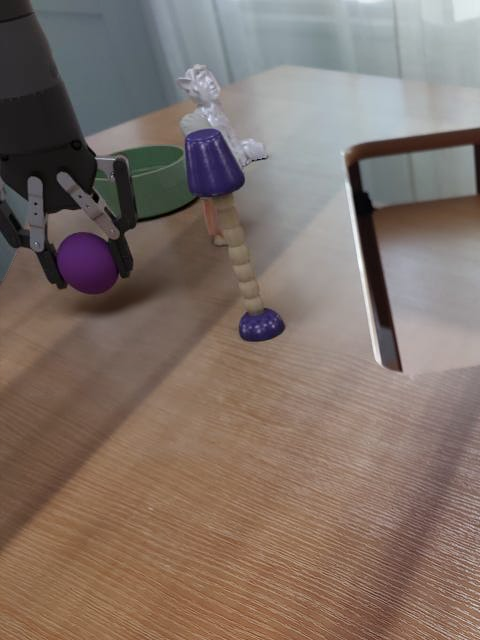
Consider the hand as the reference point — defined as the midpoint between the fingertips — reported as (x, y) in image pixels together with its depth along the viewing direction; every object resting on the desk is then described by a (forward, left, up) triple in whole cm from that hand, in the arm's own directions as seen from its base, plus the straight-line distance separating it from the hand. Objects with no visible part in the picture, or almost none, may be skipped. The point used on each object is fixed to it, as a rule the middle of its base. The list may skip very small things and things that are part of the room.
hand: (94, 280), depth 86 cm
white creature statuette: (+12, +42, -3) cm, 44 cm away
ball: (0, 0, +2) cm, 2 cm away
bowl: (+2, +32, -3) cm, 32 cm away
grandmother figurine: (+12, +14, -3) cm, 19 cm away
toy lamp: (+15, -12, -3) cm, 20 cm away
